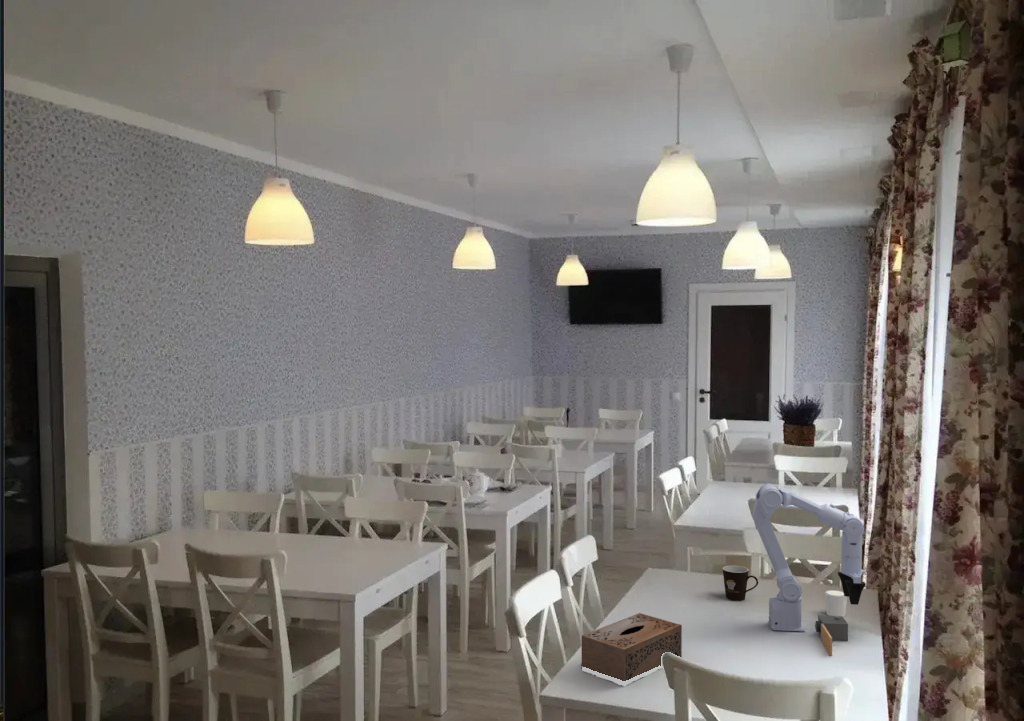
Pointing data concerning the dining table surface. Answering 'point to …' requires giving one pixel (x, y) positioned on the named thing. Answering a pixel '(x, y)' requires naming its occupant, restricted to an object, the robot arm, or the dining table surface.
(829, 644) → the side door
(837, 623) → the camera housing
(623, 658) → the tissue box cover
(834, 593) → the white cup
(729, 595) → the coffee mug
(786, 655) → the dining table surface
